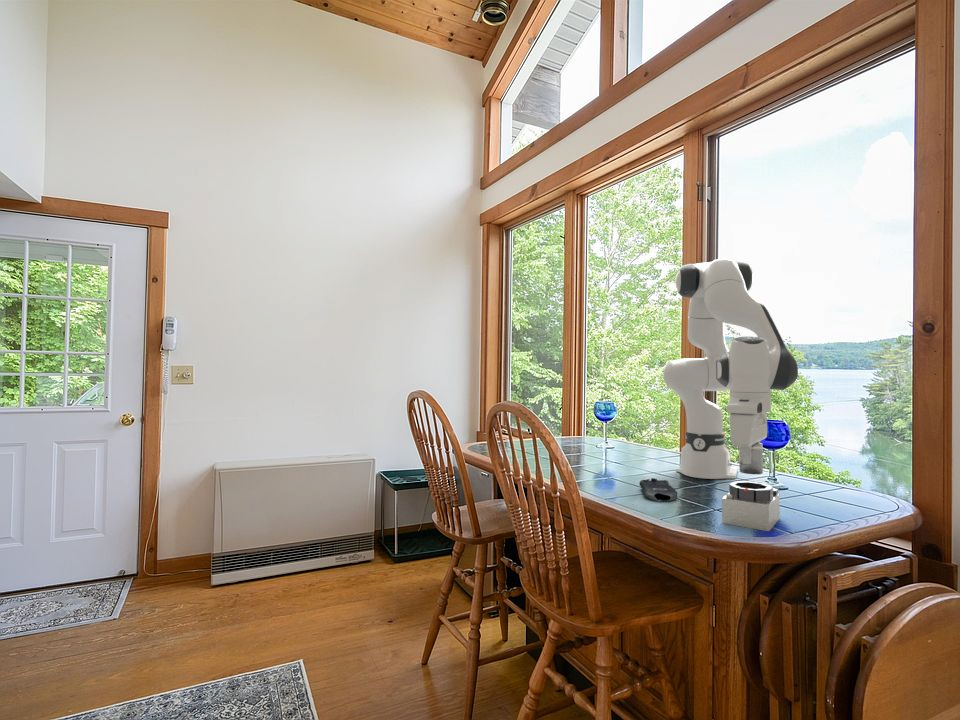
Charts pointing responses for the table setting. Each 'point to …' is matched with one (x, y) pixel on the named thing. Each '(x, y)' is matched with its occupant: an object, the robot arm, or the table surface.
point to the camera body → (751, 505)
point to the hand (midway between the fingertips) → (750, 461)
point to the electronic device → (657, 489)
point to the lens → (753, 460)
